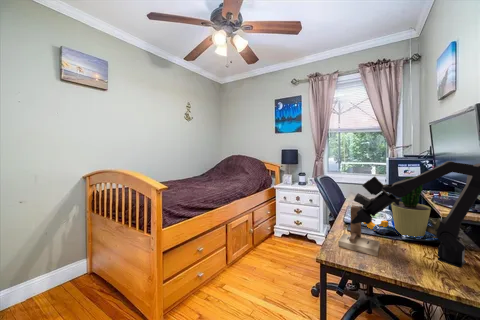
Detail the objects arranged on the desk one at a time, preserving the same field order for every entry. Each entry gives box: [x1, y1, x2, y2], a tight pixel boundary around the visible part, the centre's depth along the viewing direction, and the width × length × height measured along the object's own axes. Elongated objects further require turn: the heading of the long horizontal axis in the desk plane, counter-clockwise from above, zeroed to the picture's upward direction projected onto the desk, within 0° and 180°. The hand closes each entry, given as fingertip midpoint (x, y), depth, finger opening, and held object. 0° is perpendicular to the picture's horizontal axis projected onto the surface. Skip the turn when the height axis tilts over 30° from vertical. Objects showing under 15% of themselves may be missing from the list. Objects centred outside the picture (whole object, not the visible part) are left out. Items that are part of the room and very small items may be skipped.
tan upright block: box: [349, 204, 362, 242], centre depth 97 cm, size 4×12×16 cm, turn 141°
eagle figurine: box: [426, 225, 437, 238], centre depth 97 cm, size 8×7×9 cm
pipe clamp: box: [362, 220, 389, 230], centre depth 112 cm, size 12×4×6 cm, turn 22°
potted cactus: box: [391, 176, 432, 237], centre depth 104 cm, size 15×15×30 cm
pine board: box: [337, 233, 381, 257], centre depth 94 cm, size 15×10×3 cm, turn 51°
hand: (352, 221), depth 101 cm, fingers closed on tan upright block, 4 cm apart
